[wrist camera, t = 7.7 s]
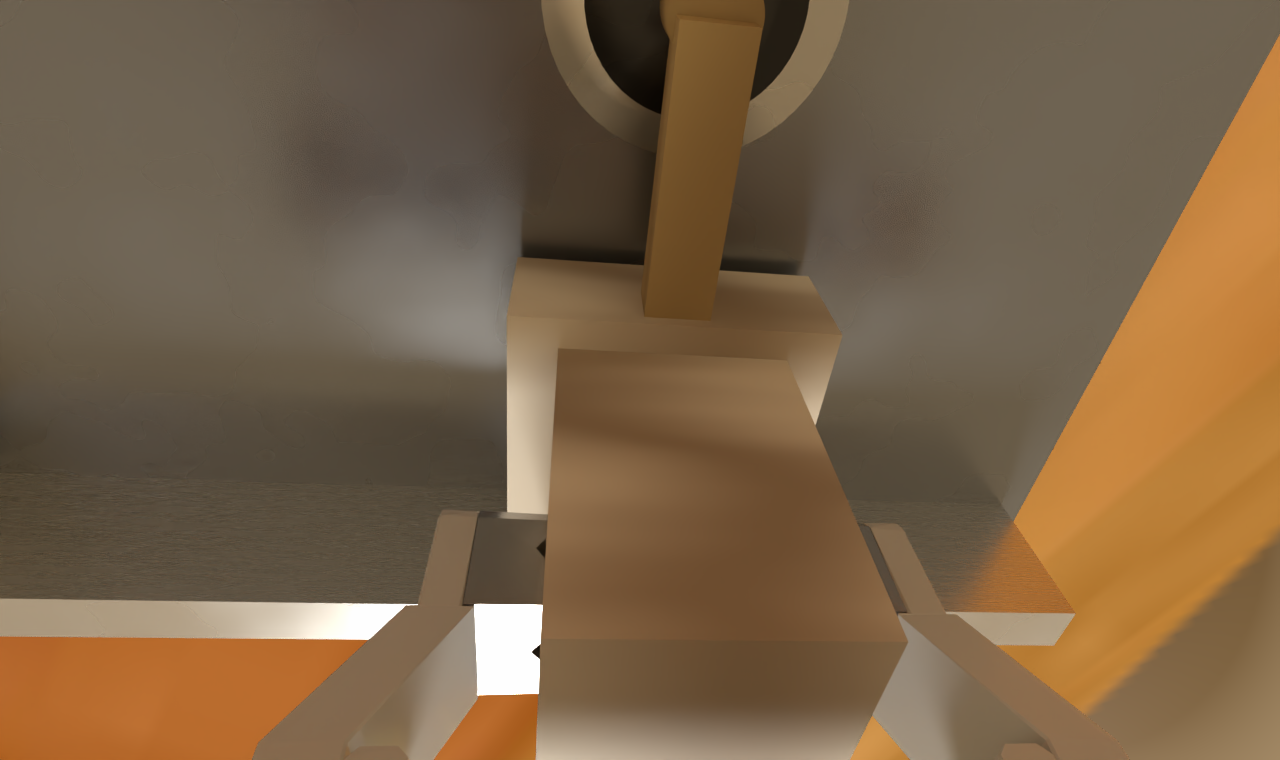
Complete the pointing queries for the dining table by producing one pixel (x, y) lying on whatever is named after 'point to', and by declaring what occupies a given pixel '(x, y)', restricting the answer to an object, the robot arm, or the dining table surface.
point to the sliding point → (691, 469)
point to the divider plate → (547, 229)
